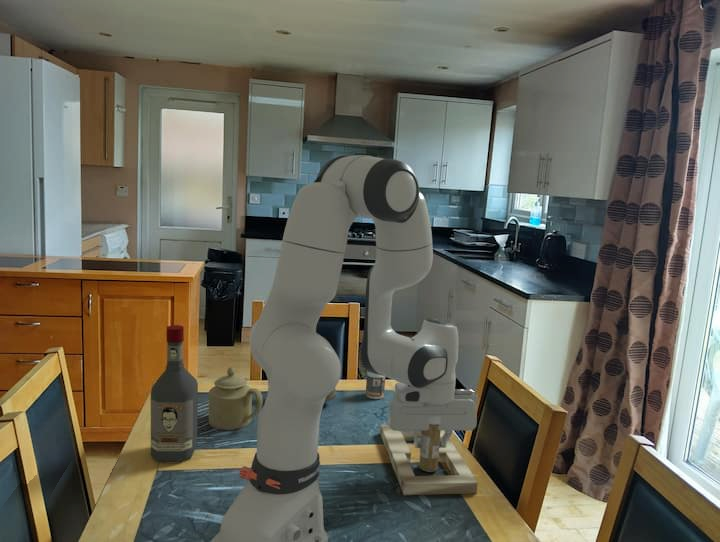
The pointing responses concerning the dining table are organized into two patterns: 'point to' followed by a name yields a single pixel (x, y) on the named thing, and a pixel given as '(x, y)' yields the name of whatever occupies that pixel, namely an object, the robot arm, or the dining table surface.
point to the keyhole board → (426, 485)
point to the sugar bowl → (232, 402)
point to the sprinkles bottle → (430, 445)
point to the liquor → (174, 405)
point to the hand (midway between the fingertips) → (429, 446)
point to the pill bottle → (375, 386)
